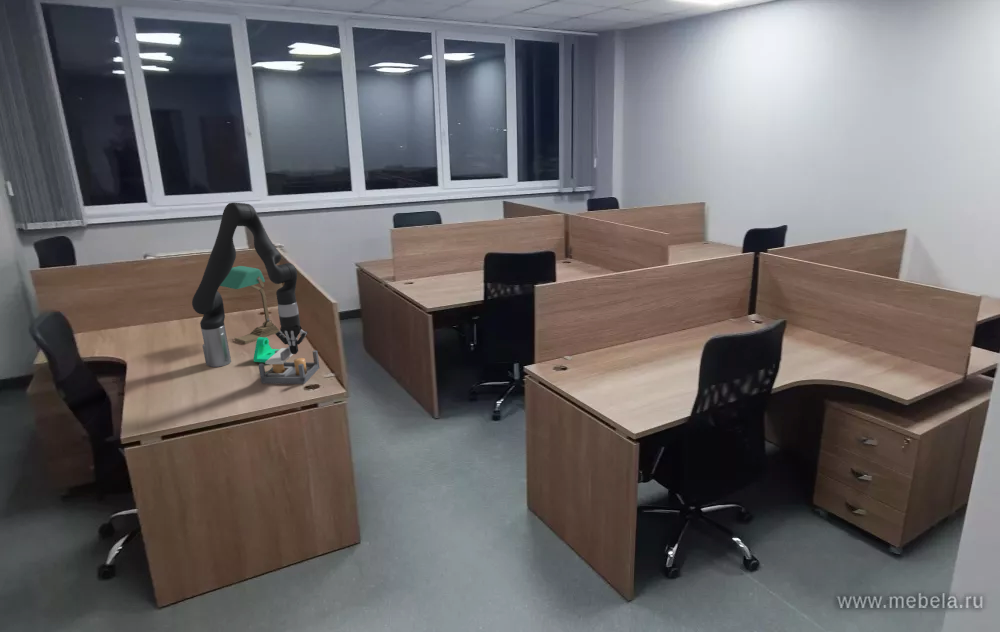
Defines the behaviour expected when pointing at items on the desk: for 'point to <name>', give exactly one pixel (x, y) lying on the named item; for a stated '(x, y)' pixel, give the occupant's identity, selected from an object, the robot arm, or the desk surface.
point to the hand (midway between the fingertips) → (294, 353)
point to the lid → (280, 356)
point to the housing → (291, 371)
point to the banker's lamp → (252, 276)
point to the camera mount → (263, 350)
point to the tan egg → (278, 368)
